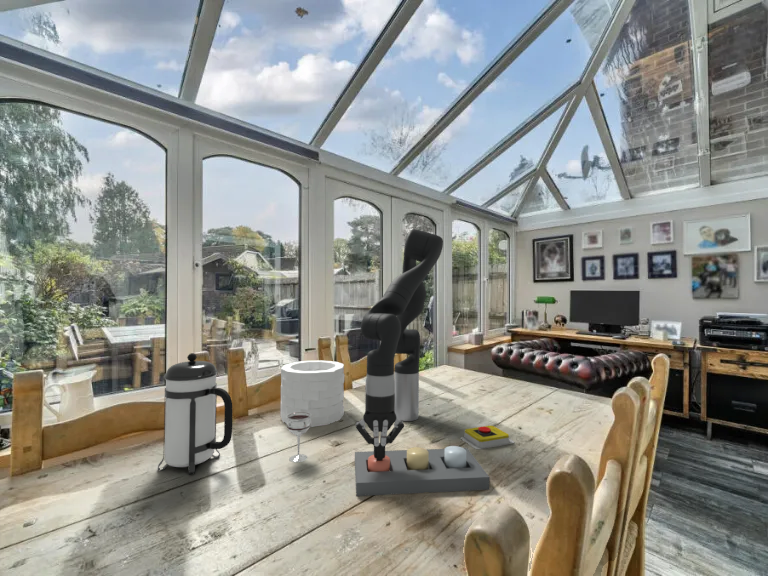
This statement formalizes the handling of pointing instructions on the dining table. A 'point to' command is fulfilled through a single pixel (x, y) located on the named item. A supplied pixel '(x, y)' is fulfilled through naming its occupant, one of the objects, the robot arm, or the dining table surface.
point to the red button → (378, 464)
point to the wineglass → (298, 430)
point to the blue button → (455, 457)
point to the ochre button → (417, 458)
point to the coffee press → (193, 414)
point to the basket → (313, 390)
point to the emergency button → (486, 437)
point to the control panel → (418, 475)
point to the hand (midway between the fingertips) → (379, 459)
